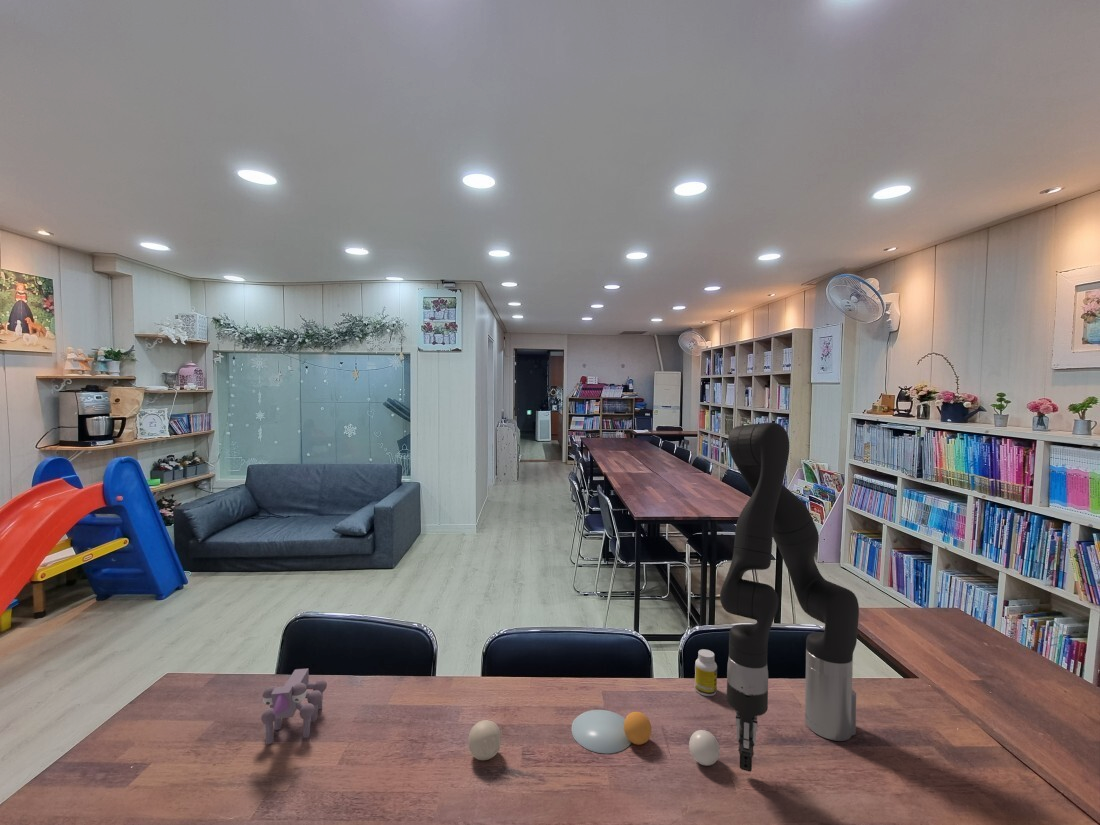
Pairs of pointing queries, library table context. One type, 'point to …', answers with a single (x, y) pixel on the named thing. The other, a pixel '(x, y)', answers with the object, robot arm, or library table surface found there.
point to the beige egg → (484, 740)
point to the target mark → (600, 731)
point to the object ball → (637, 728)
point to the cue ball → (704, 747)
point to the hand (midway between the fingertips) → (745, 768)
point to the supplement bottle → (706, 673)
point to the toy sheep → (292, 702)
